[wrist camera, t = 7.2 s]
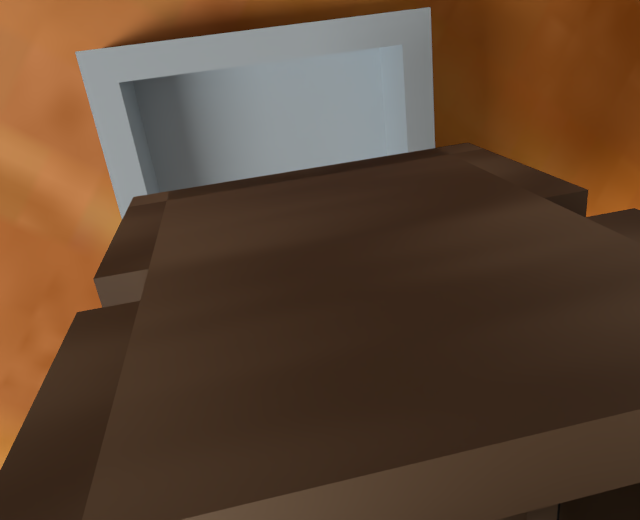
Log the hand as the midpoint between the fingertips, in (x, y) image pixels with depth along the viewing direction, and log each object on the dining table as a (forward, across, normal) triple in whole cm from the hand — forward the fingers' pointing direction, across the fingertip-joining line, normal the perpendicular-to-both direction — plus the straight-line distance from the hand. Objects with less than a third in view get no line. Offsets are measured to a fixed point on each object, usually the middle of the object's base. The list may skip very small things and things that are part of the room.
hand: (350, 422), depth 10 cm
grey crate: (+14, 0, 0) cm, 14 cm away
